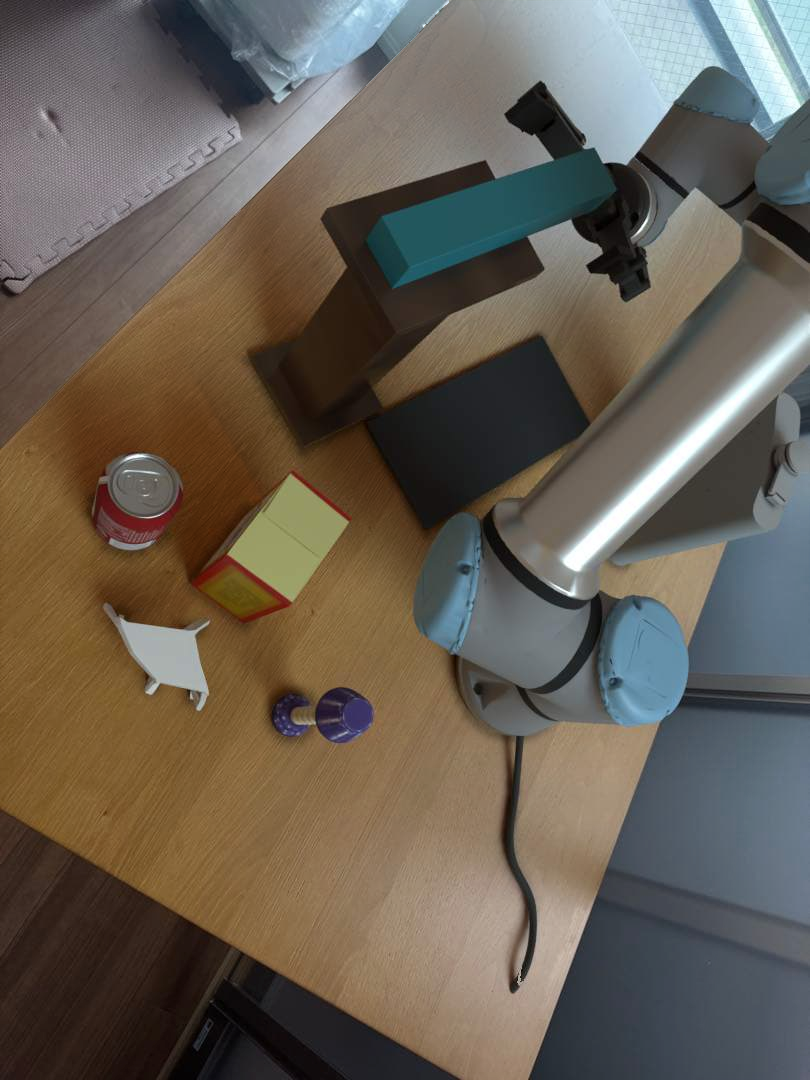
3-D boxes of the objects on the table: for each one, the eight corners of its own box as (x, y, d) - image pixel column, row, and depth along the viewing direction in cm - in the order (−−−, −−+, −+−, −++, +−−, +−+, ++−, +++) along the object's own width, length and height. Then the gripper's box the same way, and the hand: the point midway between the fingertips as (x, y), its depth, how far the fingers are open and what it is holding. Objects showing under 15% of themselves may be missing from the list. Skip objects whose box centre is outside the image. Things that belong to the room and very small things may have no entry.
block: (571, 169, 63) (594, 146, 60) (593, 210, 63) (617, 189, 61) (364, 239, 52) (381, 215, 49) (391, 289, 52) (410, 267, 50)
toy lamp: (283, 681, 73) (342, 677, 59) (323, 699, 75) (391, 699, 60) (264, 727, 72) (320, 735, 57) (305, 744, 73) (371, 756, 58)
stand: (348, 320, 85) (482, 153, 59) (395, 403, 85) (548, 274, 59) (229, 368, 77) (322, 201, 51) (281, 458, 78) (400, 339, 52)
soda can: (155, 560, 70) (174, 535, 60) (81, 540, 68) (88, 511, 57) (174, 495, 72) (196, 460, 62) (103, 474, 70) (113, 433, 59)
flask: (629, 573, 96) (802, 535, 74) (603, 556, 95) (772, 513, 73) (660, 465, 102) (828, 401, 80) (636, 448, 101) (800, 378, 79)
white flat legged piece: (232, 634, 72) (244, 630, 68) (194, 715, 69) (204, 716, 65) (116, 581, 68) (121, 573, 64) (71, 663, 65) (73, 661, 61)
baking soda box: (243, 623, 73) (291, 605, 59) (190, 584, 71) (225, 556, 57) (296, 550, 77) (353, 517, 62) (247, 511, 75) (293, 468, 61)
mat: (539, 337, 97) (542, 335, 97) (590, 429, 98) (592, 428, 97) (364, 423, 83) (366, 422, 82) (424, 530, 84) (427, 529, 83)
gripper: (637, 332, 78) (595, 347, 60) (525, 124, 77) (447, 75, 59) (704, 292, 74) (681, 295, 56) (587, 72, 73) (525, 3, 55)
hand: (561, 183), depth 58 cm, fingers open, 13 cm apart
